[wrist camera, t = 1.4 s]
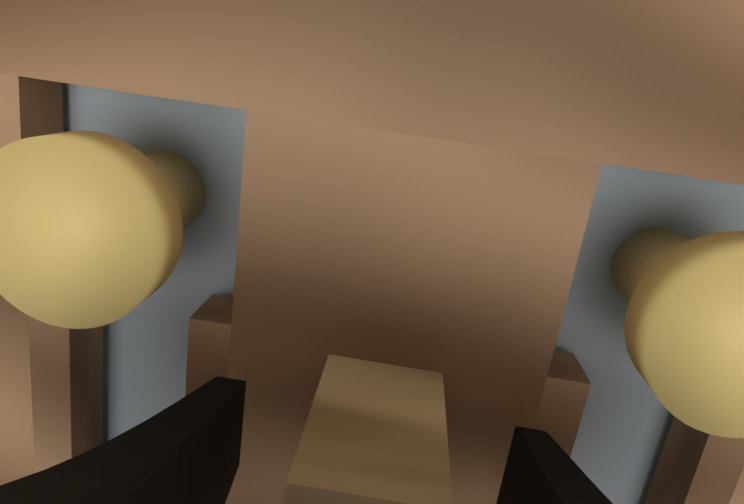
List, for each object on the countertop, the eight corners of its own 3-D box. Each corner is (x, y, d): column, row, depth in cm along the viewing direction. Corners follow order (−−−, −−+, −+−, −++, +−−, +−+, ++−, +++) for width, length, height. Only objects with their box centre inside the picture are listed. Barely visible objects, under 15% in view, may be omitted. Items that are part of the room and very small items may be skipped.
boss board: (686, 629, 17) (796, 858, 12) (27, 512, 18) (-127, 682, 13) (1050, -287, 10) (1626, -619, 5) (-17, -414, 11) (-369, -809, 6)
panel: (722, 653, 15) (877, 948, 10) (-10, 522, 16) (-216, 734, 11) (1003, 0, 10) (1569, -76, 5) (-58, -145, 11) (-464, -334, 6)
